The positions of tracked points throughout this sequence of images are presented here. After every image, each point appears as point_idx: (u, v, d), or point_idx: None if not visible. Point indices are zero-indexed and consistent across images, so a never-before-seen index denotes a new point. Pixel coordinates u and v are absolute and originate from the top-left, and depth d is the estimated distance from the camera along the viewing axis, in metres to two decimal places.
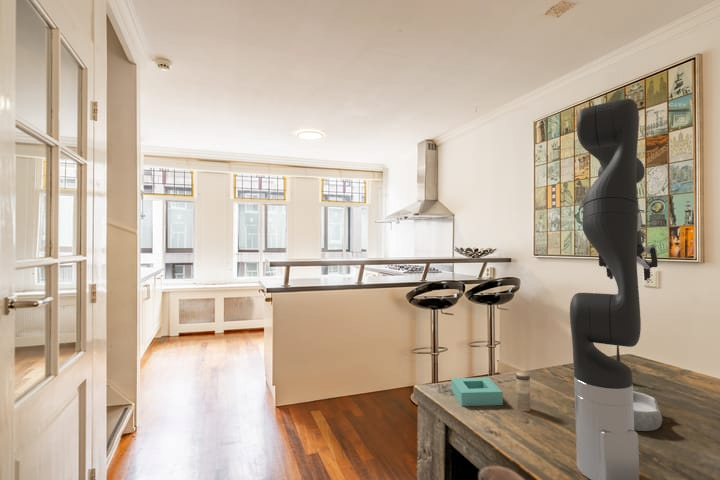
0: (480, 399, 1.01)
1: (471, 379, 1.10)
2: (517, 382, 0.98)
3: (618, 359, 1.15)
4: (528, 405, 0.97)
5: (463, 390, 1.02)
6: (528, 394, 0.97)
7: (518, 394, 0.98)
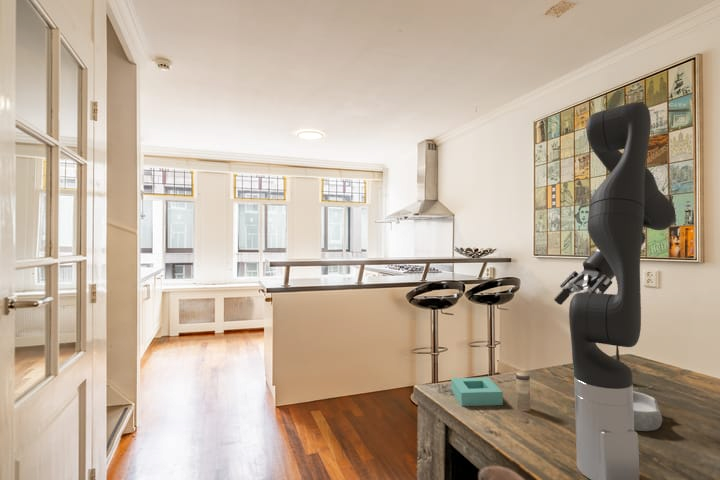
0: (480, 399, 1.01)
1: (471, 379, 1.10)
2: (517, 382, 0.98)
3: (618, 359, 1.15)
4: (528, 405, 0.97)
5: (463, 390, 1.02)
6: (528, 394, 0.97)
7: (518, 394, 0.98)
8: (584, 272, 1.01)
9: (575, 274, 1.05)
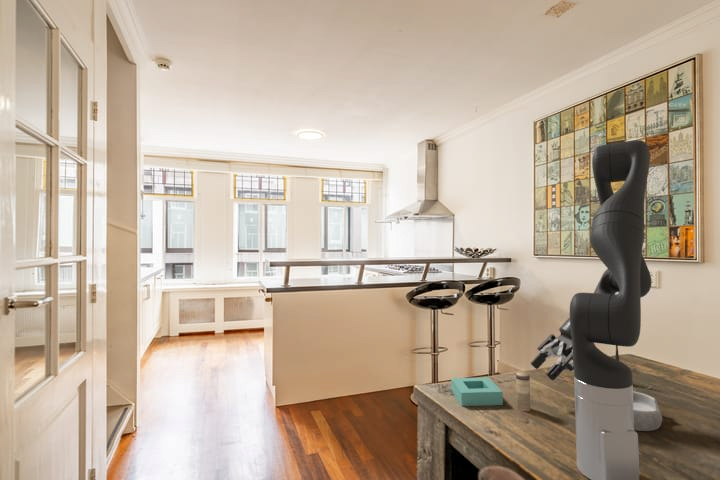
0: (480, 399, 1.01)
1: (471, 379, 1.10)
2: (517, 382, 0.98)
3: None
4: (528, 405, 0.97)
5: (463, 390, 1.02)
6: (528, 394, 0.97)
7: (518, 394, 0.98)
8: (560, 337, 1.01)
9: (552, 337, 1.04)
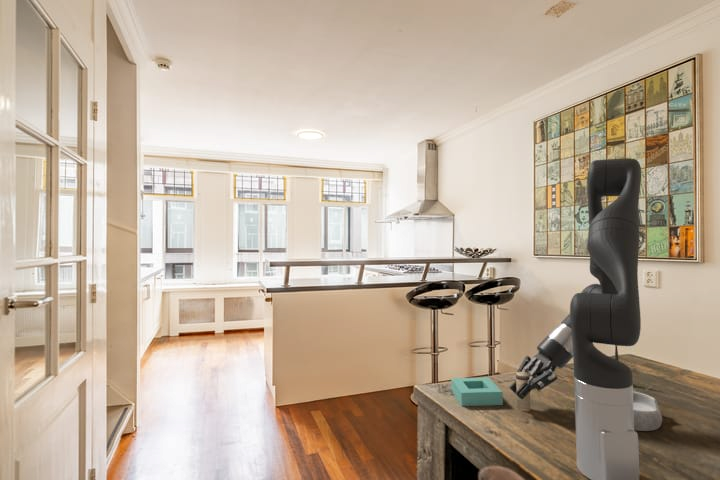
0: (480, 399, 1.01)
1: (471, 379, 1.10)
2: (517, 382, 0.98)
3: (617, 360, 1.14)
4: (528, 405, 0.97)
5: (463, 390, 1.02)
6: (528, 394, 0.97)
7: None
8: (538, 356, 1.01)
9: (528, 358, 1.04)
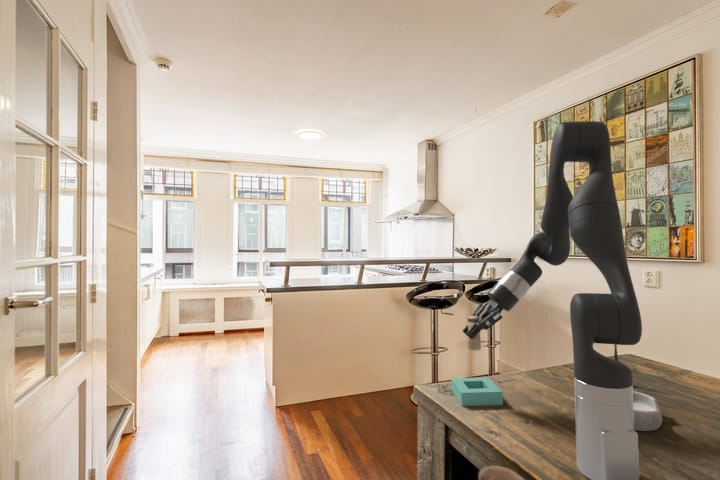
0: (480, 399, 1.01)
1: (471, 379, 1.10)
2: (468, 324, 1.06)
3: (616, 360, 1.14)
4: (478, 345, 1.05)
5: (463, 390, 1.02)
6: (478, 335, 1.05)
7: None
8: (489, 301, 1.09)
9: (481, 305, 1.12)
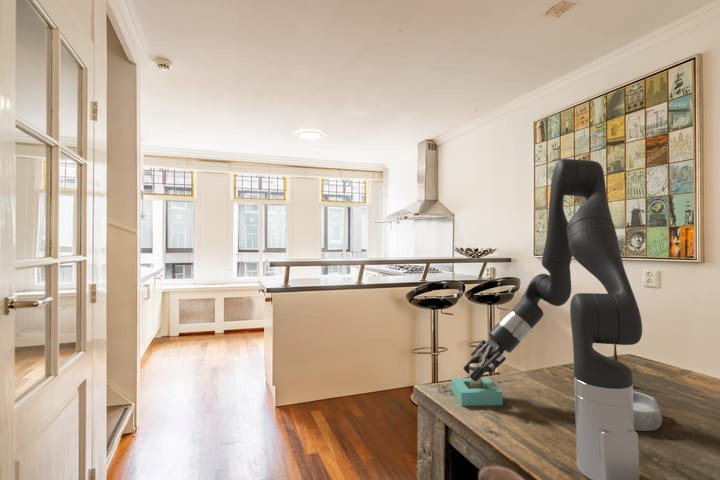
0: (480, 399, 1.01)
1: None
2: (470, 373, 1.06)
3: None
4: None
5: (463, 390, 1.02)
6: (479, 384, 1.05)
7: (471, 384, 1.06)
8: (490, 342, 1.09)
9: (483, 343, 1.12)
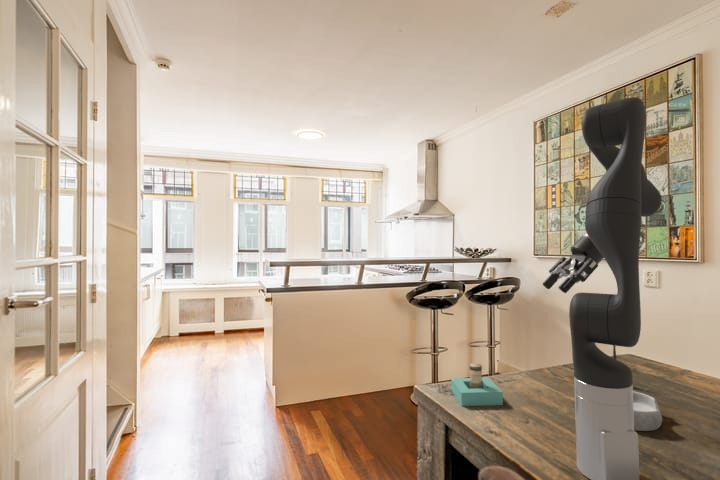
0: (480, 399, 1.01)
1: None
2: (470, 372, 1.06)
3: None
4: None
5: (463, 390, 1.02)
6: (480, 384, 1.05)
7: (471, 384, 1.06)
8: (572, 257, 1.03)
9: (563, 259, 1.07)
